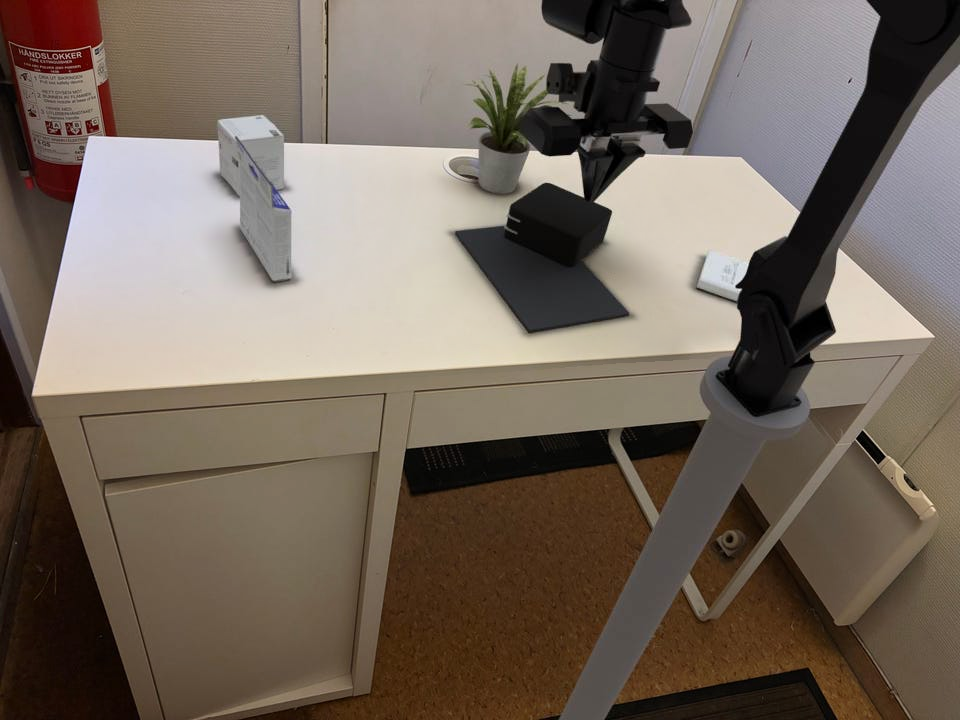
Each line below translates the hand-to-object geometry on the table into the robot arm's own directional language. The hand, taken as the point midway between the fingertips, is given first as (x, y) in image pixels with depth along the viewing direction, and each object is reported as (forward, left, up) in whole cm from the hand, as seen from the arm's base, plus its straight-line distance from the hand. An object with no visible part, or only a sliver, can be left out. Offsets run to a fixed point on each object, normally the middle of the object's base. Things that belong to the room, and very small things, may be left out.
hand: (589, 200), depth 85 cm
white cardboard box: (+26, +32, -10) cm, 42 cm away
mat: (0, +5, -9) cm, 10 cm away
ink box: (+10, +34, -10) cm, 37 cm away
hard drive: (-9, -21, -10) cm, 25 cm away
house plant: (+20, +1, -10) cm, 22 cm away
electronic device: (+2, -4, -7) cm, 8 cm away
